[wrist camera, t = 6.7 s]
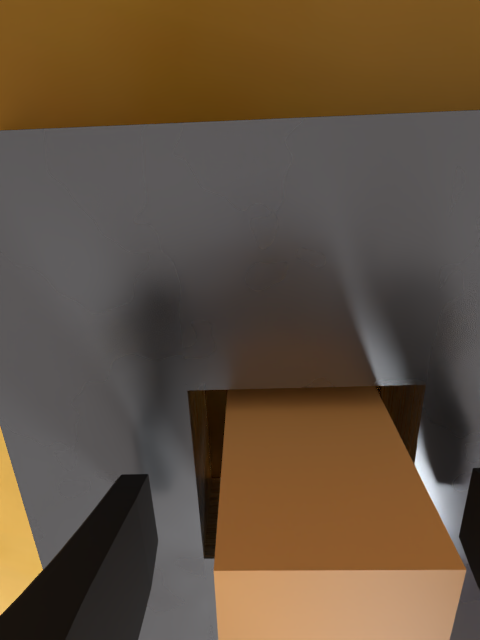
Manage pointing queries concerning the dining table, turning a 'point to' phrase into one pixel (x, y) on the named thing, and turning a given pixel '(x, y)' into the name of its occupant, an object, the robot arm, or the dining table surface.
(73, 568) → the robot arm
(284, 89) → the dining table surface
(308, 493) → the peach rectangular block
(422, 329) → the gray block with hole
